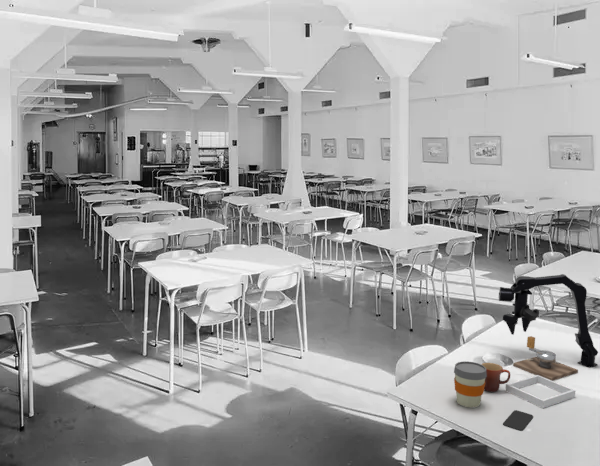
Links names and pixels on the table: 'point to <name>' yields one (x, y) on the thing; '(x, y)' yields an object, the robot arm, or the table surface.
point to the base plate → (545, 368)
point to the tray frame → (513, 389)
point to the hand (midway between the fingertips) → (518, 332)
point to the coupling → (540, 352)
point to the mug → (494, 377)
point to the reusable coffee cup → (469, 383)
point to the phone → (518, 420)
